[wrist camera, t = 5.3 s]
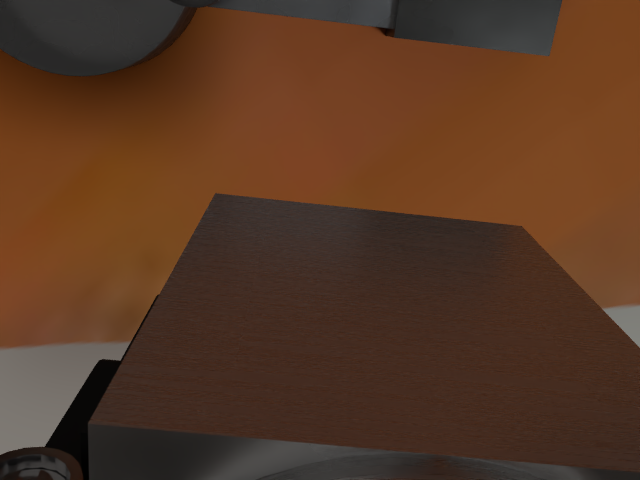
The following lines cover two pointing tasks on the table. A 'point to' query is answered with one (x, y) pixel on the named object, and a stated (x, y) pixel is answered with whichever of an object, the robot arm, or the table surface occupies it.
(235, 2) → the ratchet
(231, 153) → the table surface
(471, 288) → the domed grey cube
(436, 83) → the table surface
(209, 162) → the table surface
